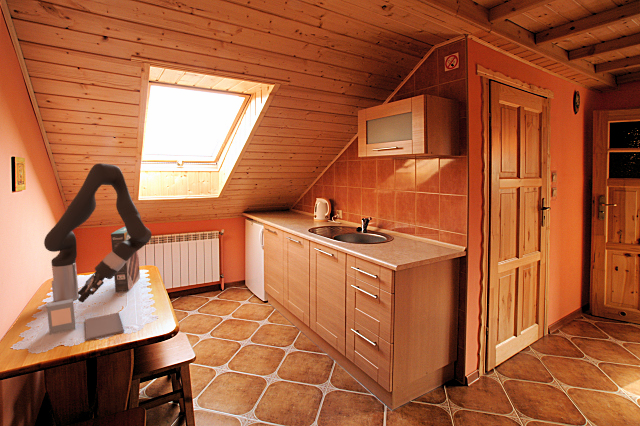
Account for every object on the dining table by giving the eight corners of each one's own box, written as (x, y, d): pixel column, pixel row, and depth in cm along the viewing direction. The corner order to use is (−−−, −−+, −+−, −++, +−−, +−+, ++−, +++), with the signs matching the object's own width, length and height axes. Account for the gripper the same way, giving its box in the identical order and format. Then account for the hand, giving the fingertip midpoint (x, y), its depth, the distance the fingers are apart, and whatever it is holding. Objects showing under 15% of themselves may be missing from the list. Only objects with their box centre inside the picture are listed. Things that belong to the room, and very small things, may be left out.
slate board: (85, 321, 145) (85, 319, 145) (118, 314, 152) (118, 312, 151) (86, 340, 128) (86, 338, 128) (123, 332, 135) (123, 330, 135)
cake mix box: (128, 291, 180) (124, 233, 176) (115, 292, 179) (110, 233, 175) (140, 278, 201) (136, 226, 197) (128, 278, 200) (124, 226, 196)
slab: (49, 334, 133) (46, 306, 132) (50, 330, 137) (47, 303, 135) (75, 329, 138) (72, 302, 136) (75, 325, 141) (72, 298, 140)
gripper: (101, 256, 148) (71, 287, 143) (104, 263, 137) (71, 298, 132) (117, 266, 152) (87, 297, 147) (120, 274, 140) (89, 308, 135)
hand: (79, 297), depth 139 cm, fingers open, 8 cm apart
